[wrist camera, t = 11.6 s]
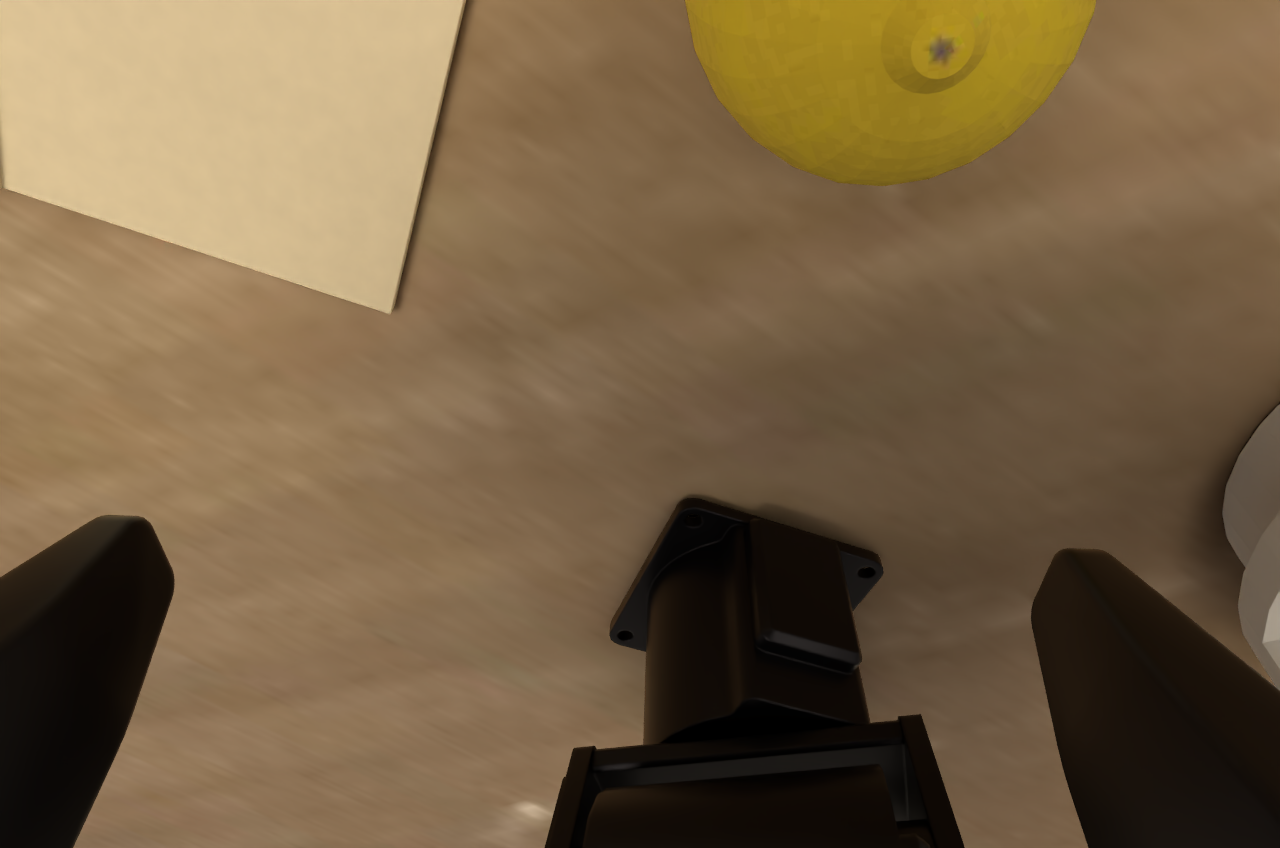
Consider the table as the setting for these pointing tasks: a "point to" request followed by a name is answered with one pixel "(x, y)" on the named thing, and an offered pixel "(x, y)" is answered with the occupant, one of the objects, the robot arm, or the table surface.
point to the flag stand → (1258, 540)
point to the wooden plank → (234, 125)
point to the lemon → (884, 77)
